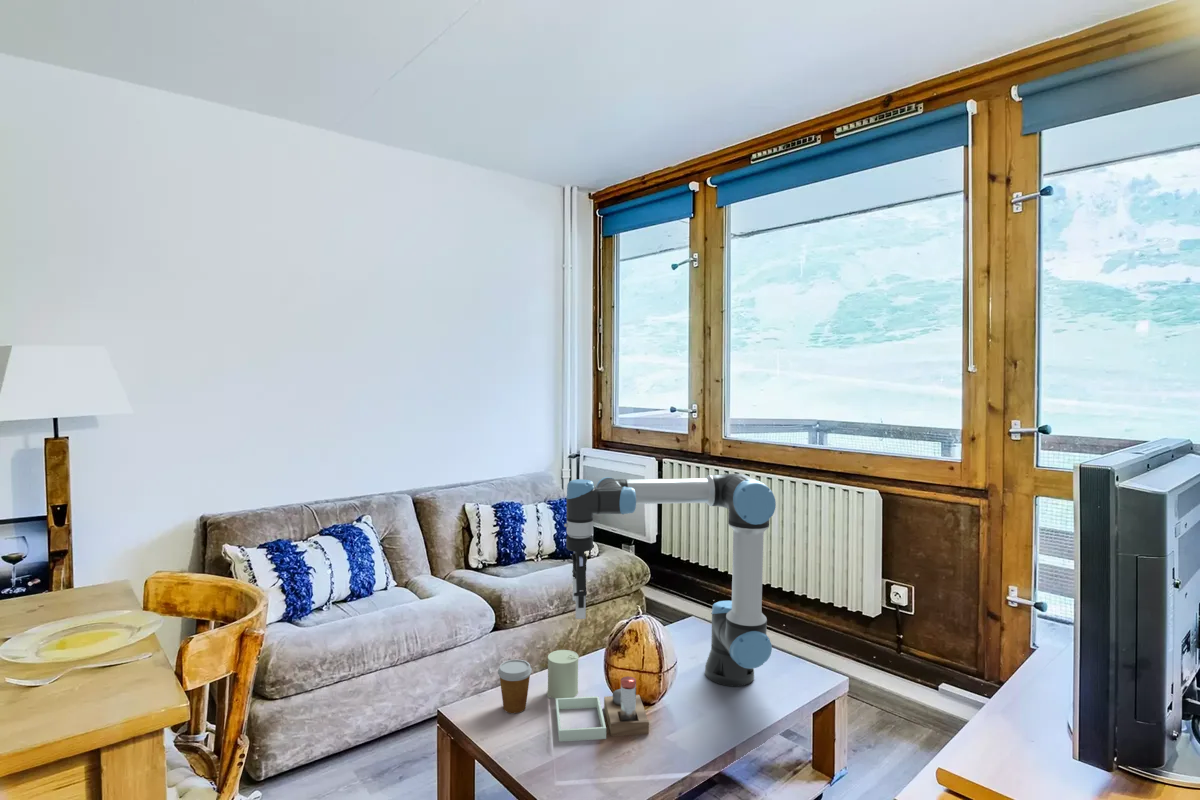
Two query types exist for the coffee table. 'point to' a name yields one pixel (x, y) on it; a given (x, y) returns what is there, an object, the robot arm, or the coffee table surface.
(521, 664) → the disposable coffee cup
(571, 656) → the can
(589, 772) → the coffee table surface
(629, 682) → the red capped bottle
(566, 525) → the robot arm
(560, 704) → the tray
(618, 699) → the socket block
